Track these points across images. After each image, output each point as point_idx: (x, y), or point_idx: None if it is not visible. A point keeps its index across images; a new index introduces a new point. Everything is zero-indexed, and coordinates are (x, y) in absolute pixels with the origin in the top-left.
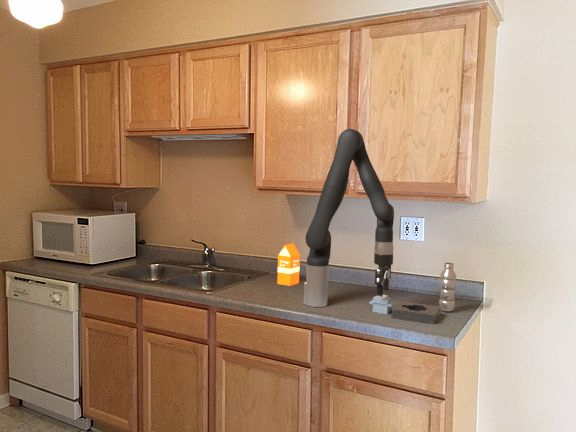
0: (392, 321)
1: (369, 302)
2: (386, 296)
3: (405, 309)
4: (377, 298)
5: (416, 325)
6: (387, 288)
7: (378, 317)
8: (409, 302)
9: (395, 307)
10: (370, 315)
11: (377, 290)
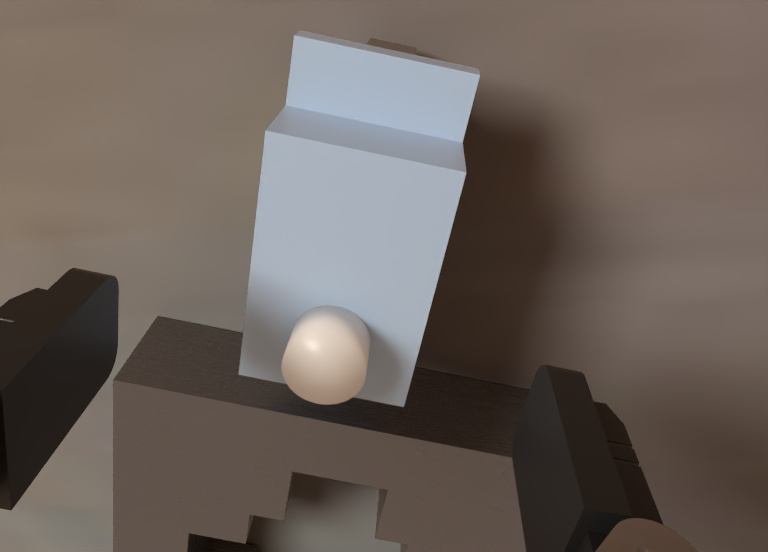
0: None
1: (297, 36)
2: (291, 379)
3: (181, 508)
4: (257, 214)
5: (36, 511)
6: (517, 458)
7: (90, 172)
8: None
9: (215, 414)
10: (124, 59)
11: (38, 311)
